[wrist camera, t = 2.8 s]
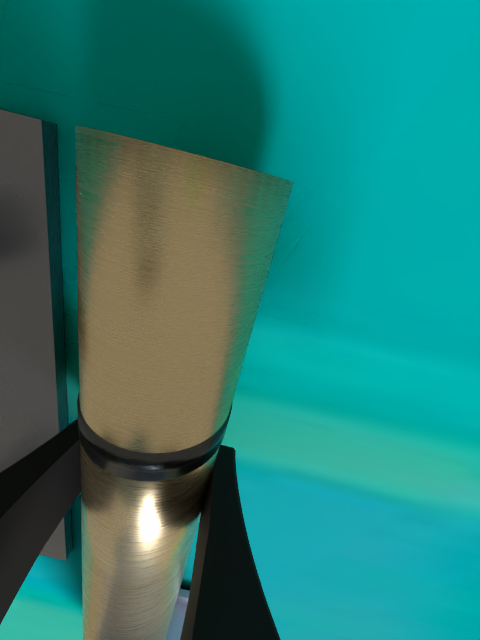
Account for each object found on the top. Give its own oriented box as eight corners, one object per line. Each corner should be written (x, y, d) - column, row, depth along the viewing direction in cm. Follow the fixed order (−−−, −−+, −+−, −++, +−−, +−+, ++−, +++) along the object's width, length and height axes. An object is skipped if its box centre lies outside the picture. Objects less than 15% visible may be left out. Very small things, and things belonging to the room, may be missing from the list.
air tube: (181, 573, 18) (156, 690, 14) (109, 557, 18) (61, 668, 14) (289, 183, 8) (308, 182, 4) (134, 144, 8) (3, 105, 4)
